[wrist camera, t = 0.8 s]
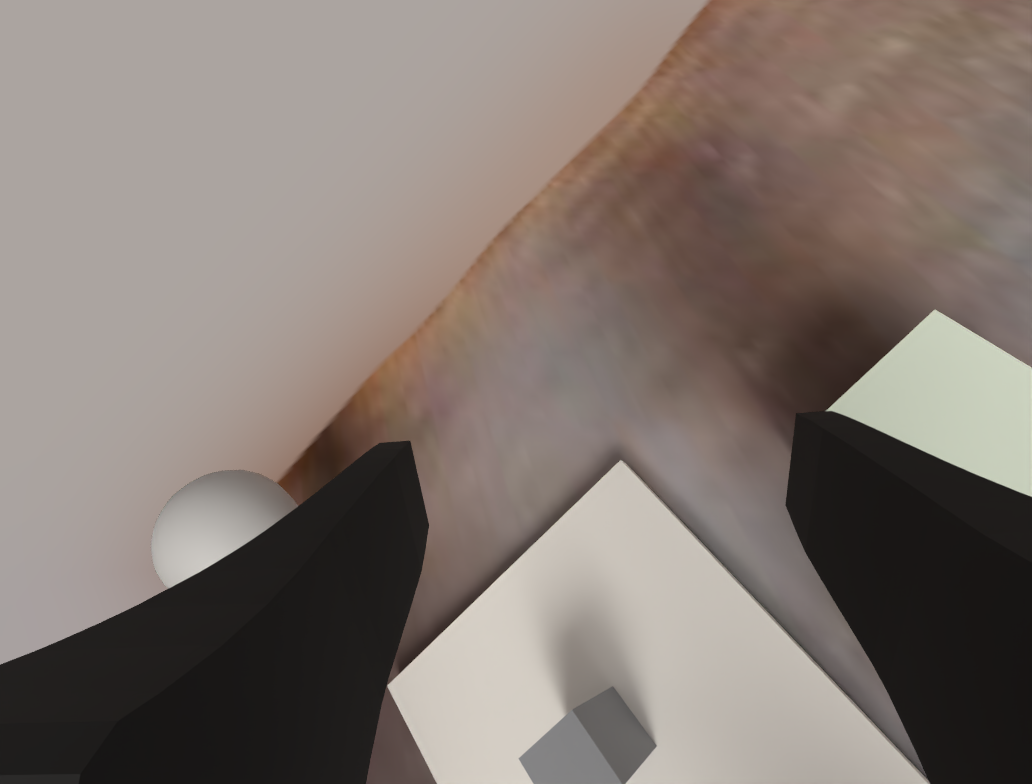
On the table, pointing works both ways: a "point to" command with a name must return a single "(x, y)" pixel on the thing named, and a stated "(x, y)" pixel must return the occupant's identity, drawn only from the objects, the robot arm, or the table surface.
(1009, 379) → the pale green block
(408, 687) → the post board
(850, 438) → the robot arm
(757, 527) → the table surface
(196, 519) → the lightbulb
